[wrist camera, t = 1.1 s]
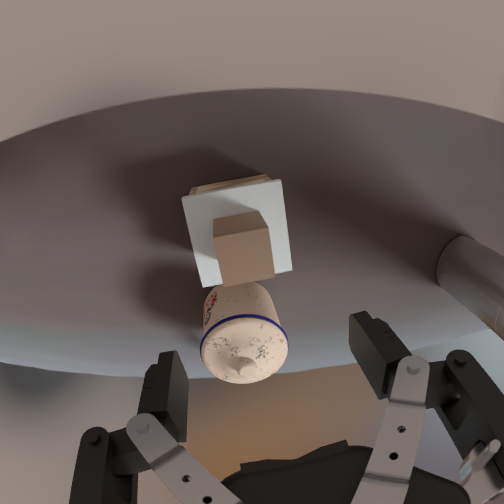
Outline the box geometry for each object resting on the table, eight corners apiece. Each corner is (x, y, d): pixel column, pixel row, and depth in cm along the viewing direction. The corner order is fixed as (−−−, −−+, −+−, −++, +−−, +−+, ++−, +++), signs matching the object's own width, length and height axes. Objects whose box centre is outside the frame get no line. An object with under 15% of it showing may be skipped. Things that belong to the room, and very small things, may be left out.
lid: (276, 177, 27) (296, 190, 21) (287, 261, 30) (306, 296, 24) (183, 194, 27) (173, 213, 20) (203, 278, 30) (201, 317, 23)
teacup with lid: (199, 277, 35) (194, 337, 25) (275, 273, 36) (299, 330, 26) (206, 354, 40) (207, 419, 29) (271, 349, 41) (288, 413, 30)
